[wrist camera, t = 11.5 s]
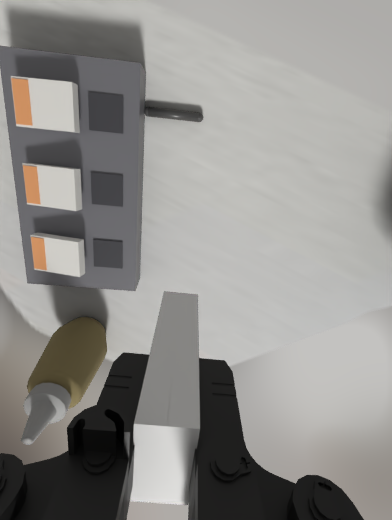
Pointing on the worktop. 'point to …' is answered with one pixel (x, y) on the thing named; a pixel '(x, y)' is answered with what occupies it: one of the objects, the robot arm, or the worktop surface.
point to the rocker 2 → (58, 254)
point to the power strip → (87, 163)
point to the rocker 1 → (46, 104)
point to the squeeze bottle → (63, 373)
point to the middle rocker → (53, 186)
